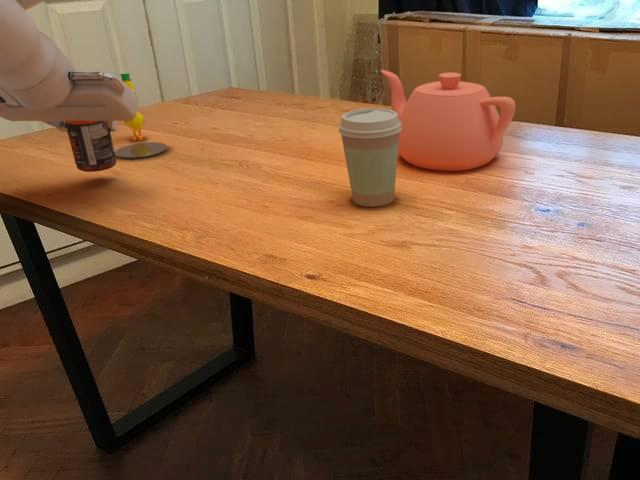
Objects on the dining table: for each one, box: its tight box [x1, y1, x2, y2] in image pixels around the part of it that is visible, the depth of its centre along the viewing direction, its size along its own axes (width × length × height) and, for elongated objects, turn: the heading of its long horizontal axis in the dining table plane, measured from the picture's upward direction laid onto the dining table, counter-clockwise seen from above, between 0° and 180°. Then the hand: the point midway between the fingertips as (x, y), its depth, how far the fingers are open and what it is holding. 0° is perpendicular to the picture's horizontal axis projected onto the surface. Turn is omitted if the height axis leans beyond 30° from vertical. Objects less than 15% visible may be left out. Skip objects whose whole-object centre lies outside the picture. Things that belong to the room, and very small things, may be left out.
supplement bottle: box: [65, 121, 117, 173], centre depth 100 cm, size 6×6×11 cm
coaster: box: [114, 141, 169, 160], centre depth 118 cm, size 9×9×1 cm
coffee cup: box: [338, 107, 402, 208], centre depth 91 cm, size 8×8×12 cm
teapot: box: [380, 69, 517, 172], centre depth 107 cm, size 25×17×13 cm
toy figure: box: [120, 72, 146, 142], centre depth 123 cm, size 7×4×12 cm, turn 9°
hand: (90, 127), depth 101 cm, fingers closed on supplement bottle, 6 cm apart
